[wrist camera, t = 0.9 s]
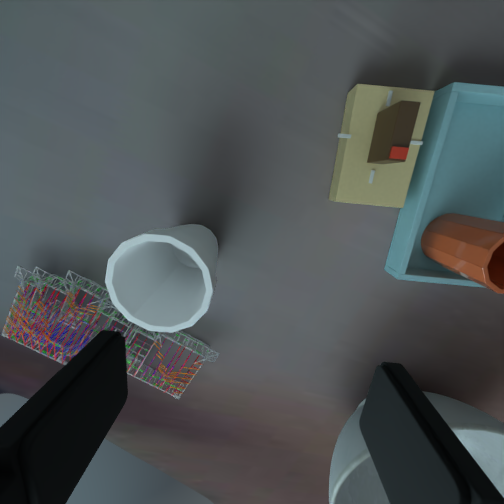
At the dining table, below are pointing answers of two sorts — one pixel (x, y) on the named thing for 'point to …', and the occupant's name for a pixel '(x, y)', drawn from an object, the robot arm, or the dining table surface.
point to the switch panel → (359, 141)
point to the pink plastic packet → (25, 306)
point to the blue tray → (452, 175)
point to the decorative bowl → (363, 469)
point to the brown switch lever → (393, 133)
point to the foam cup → (164, 277)
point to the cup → (468, 247)
